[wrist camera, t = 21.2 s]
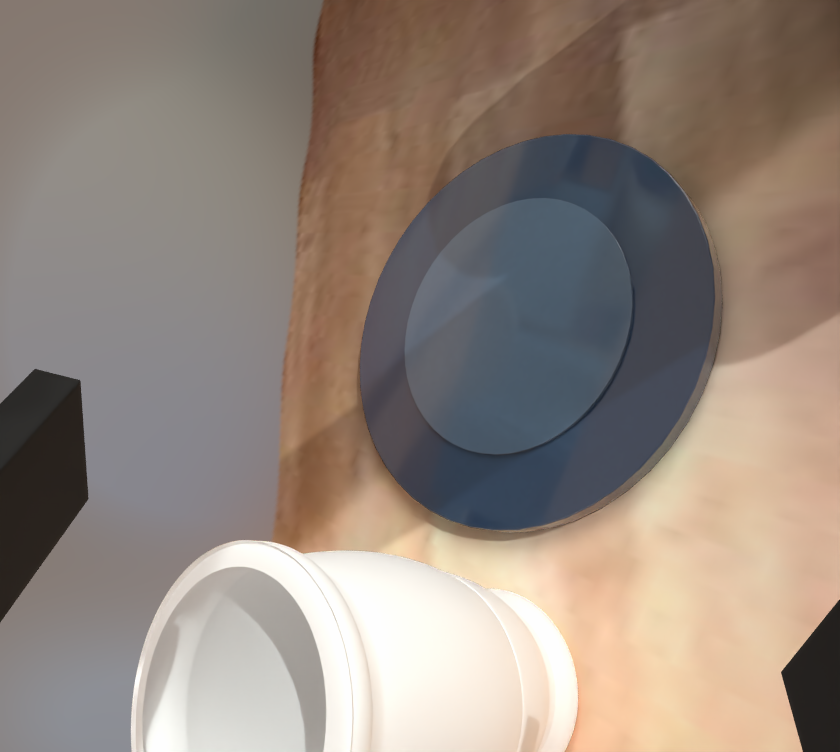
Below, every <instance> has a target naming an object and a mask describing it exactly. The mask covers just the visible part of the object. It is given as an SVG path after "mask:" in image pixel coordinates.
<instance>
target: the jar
mask: <svg viewBox="0 0 840 752" xmlns="http://www.w3.org/2000/svg"><path fill="white" fill-rule="evenodd" d="M577 710H578V685H577V677H576V672H575V667H574V664H573V660H572V657H571V654H570V651H569V649H568V647H567V645H566V642H565V640H564V638H563V637H562V635H561V633H560V632H559V630H558V629H557V627H556V626H555V624H554V623H553V622H552V620H551V619H550V618H549V617H548V616H547V615H546V614H545V613H544V612H543V611H542V610H541V609H540V608H539V607H538V606H536V605H535V604H534V603H532V602H531V601H529V600H528V599H526V598H524V597H522V596H520V595H518V594H516V593H513V592H510V591H506V590H502V589H492V588H487V589H486V588H484V587H482V586H480V585H478V584H476V583H474V582H472V581H470V580H468V579H465V578H463V577H460V576H457V575H454V574H451V573H447V572H443V571H441V570H439V569H437V568H434V567H432V566H429V565H427V564H424V563H421V562H418V561H415V560H412V559H408V558H404V557H400V556H396V555H390V554H385V553H378V552H368V551H323V552H312V553H305V554H302V553H300V552H298V551H296V550H294V549H292V548H290V547H288V546H285V545H281V544H278V543H273V542H268V541H253V540H240V541H233V542H229V543H225V544H223V545H220V546H218V547H216V548H213V549H212V550H210V551H208V552H206V553H205V554H203V555H202V556H200V557H199V558H198V559H197V560H195V561H194V562H193V563H192V564H191V565H190V566H189V567H188V568H187V569H186V570H185V571H184V572H183V573H182V574H181V575H180V576H179V578H178V579H177V580H176V582H175V583H174V584H173V585H172V587H171V589H170V590H169V592H168V593H167V595H166V596H165V598H164V600H163V601H162V603H161V605H160V607H159V609H158V611H157V613H156V615H155V617H154V619H153V622H152V624H151V626H150V629H149V631H148V634H147V637H146V640H145V643H144V646H143V649H142V653H141V656H140V661H139V665H138V669H137V674H136V679H135V686H134V693H133V701H132V714H131V749H132V752H565V750H566V748H567V746H568V744H569V742H570V739H571V737H572V734H573V731H574V727H575V723H576V718H577Z"/></svg>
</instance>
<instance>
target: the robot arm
mask: <svg viewBox="0 0 840 752" xmlns="http://www.w3.org/2000/svg"><path fill="white" fill-rule="evenodd" d="M87 500H88V487H87V473H86V458H85V443H84V428H83V413H82V398H81V383H80V380H77V379H73V378H69V377H65V376H61V375H57V374H53V373H49V372H44V371H41V370H37V369H35V370H33V372H31V373H30V374H29V376H28V377H26V378H25V380H24V381H23V382H22V383H21V384H20V385H19V386H18V387H17V388H16V389H15V390H14V391H13V392H12V393H11V394H10V395H9V396H8V397H7V398H6V399H5V400H4V401H3V402H2V403H1V404H0V622H1V620H2V619H3V618H4V616H5V615H6V614H7V612H8V611H9V609H10V608H11V607H12V605H13V604H14V602H15V601H16V599H17V598H18V597H19V595H20V594H21V592H22V591H23V589H24V588H25V587H26V586H27V584H28V583H29V581H30V580H31V579H32V577H33V576H34V574H35V573H36V572H37V570H38V569H39V567H40V566H41V564H42V563H43V562H44V560H45V559H46V557H47V556H48V555H49V553H50V552H51V550H52V549H53V548H54V546H55V545H56V544H57V542H58V541H59V539H60V538H61V537H62V535H63V534H64V532H65V531H66V530H67V528H68V526H69V525H70V524H71V522H72V521H73V520H74V518H75V517H76V516H77V514H78V513H79V511H80V510H81V508H82V507H83V506H84V504H85V503H86V502H87ZM781 674H782V677H783V681H784V685H785V688H786V692H787V695H788V699H789V703H790V706H791V710H792V713H793V717H794V721H795V724H796V728H797V732H798V735H799V739H800V742H801V746H802V750H803V752H840V600H839V601H838V602H837V603H836V605H835V606H834V607H833V608H832V610H831V611H830V612H829V613H828V615H827V616H826V617H825V618H824V620H823V621H822V622H821V623H820V624H819V626H818V627H817V628H816V629H815V631H814V632H813V633H812V634H811V636H810V637H809V638H808V639H807V641H806V642H805V643H804V644H803V646H802V647H801V648H800V649H799V651H798V652H797V653H796V654H795V656H794V657H793V658H792V659H791V661H790V662H789V663H788V664H787V665H786V667H785V668H784V669H783V670H782V672H781Z"/></svg>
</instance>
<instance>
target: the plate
mask: <svg viewBox="0 0 840 752" xmlns="http://www.w3.org/2000/svg"><path fill="white" fill-rule="evenodd" d="M721 316H722V287H721V273H720V268H719V264H718V259H717V254H716V250H715V246H714V243H713V241H712V238H711V235H710V233H709V230H708V227H707V225H706V222H705V221H704V219H703V217H702V215H701V214H700V212H699V210H698V209H697V207H696V205H695V203H694V202H693V200H692V199H691V198H690V197H689V195H688V194H687V193H686V192H685V191H684V189H683V188H682V187H681V186H680V185H679V183H678V182H677V181H676V180H675V179H674V178H673V177H672V175H671V174H670V173H668V172H667V171H666V170H665V169H664V168H662V167H661V166H660V165H659V164H658V163H657V162H655V161H654V160H653V159H652V158H650V157H648V156H647V155H645V154H643V153H641V152H640V151H638V150H636V149H634V148H633V147H630V146H628V145H625V144H622V143H620V142H617V141H614V140H612V139H607V138H602V137H596V136H591V135H576V134H563V135H553V136H544V137H540V138H536V139H531V140H527V141H523V142H520V143H518V144H515V145H512V146H510V147H507V148H504V149H502V150H500V151H498V152H496V153H494V154H492V155H490V156H488V157H486V158H484V159H482V160H480V161H479V162H477V163H476V164H474V165H473V166H471V167H470V168H468V169H466V170H465V171H463V172H462V173H461V174H459V175H458V176H457V177H456V178H454V179H453V180H452V181H451V182H450V183H448V184H447V185H446V186H445V187H444V188H442V189H441V190H440V191H439V192H438V193H437V194H436V195H435V196H434V197H433V198H432V199H431V200H430V201H429V202H428V203H427V204H426V206H425V207H424V208H423V209H422V210H421V211H420V213H419V214H418V215H417V216H416V217H415V218H414V220H413V221H412V222H411V224H410V225H409V227H408V228H407V229H406V231H405V232H404V234H403V235H402V237H401V238H400V239H399V241H398V243H397V245H396V246H395V248H394V250H393V251H392V253H391V255H390V257H389V258H388V260H387V263H386V265H385V267H384V269H383V271H382V273H381V275H380V277H379V280H378V282H377V285H376V288H375V291H374V293H373V296H372V299H371V302H370V306H369V309H368V313H367V317H366V320H365V325H364V331H363V337H362V343H361V355H360V388H361V396H362V403H363V410H364V414H365V418H366V422H367V426H368V429H369V432H370V434H371V437H372V440H373V442H374V445H375V447H376V450H377V451H378V453H379V455H380V457H381V459H382V461H383V462H384V464H385V466H386V468H387V469H388V470H389V472H390V473H391V474H392V476H393V477H394V478H395V480H396V481H397V482H398V484H399V485H400V486H401V487H402V488H403V489H404V490H405V491H406V492H407V493H408V494H409V495H410V496H411V497H412V498H413V499H415V500H416V501H417V502H419V503H420V504H422V505H423V506H424V507H426V508H427V509H428V510H430V511H432V512H434V513H435V514H437V515H439V516H441V517H443V518H445V519H447V520H449V521H452V522H455V523H459V524H462V525H465V526H468V527H472V528H478V529H484V530H491V531H498V532H531V531H537V530H543V529H549V528H554V527H557V526H560V525H563V524H566V523H569V522H572V521H575V520H578V519H580V518H582V517H584V516H586V515H588V514H590V513H593V512H595V511H597V510H599V509H601V508H603V507H604V506H606V505H607V504H609V503H610V502H612V501H613V500H615V499H616V498H618V497H619V496H621V495H622V494H624V493H625V492H627V491H628V490H629V489H630V488H631V487H633V486H634V485H635V484H636V483H637V482H638V481H639V480H640V479H642V478H643V477H644V476H645V475H646V474H647V473H648V472H650V471H651V469H652V468H653V467H654V466H655V465H656V464H657V463H658V461H659V460H660V459H661V458H662V457H663V456H664V455H665V454H666V452H667V451H668V450H669V449H670V448H671V446H672V445H673V444H674V442H675V441H676V439H677V438H678V436H679V435H680V433H681V432H682V430H683V429H684V427H685V426H686V424H687V423H688V421H689V419H690V417H691V415H692V414H693V412H694V410H695V408H696V406H697V404H698V402H699V400H700V398H701V396H702V394H703V391H704V389H705V386H706V383H707V380H708V377H709V375H710V372H711V369H712V366H713V363H714V359H715V354H716V350H717V345H718V340H719V336H720V328H721Z"/></svg>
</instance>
